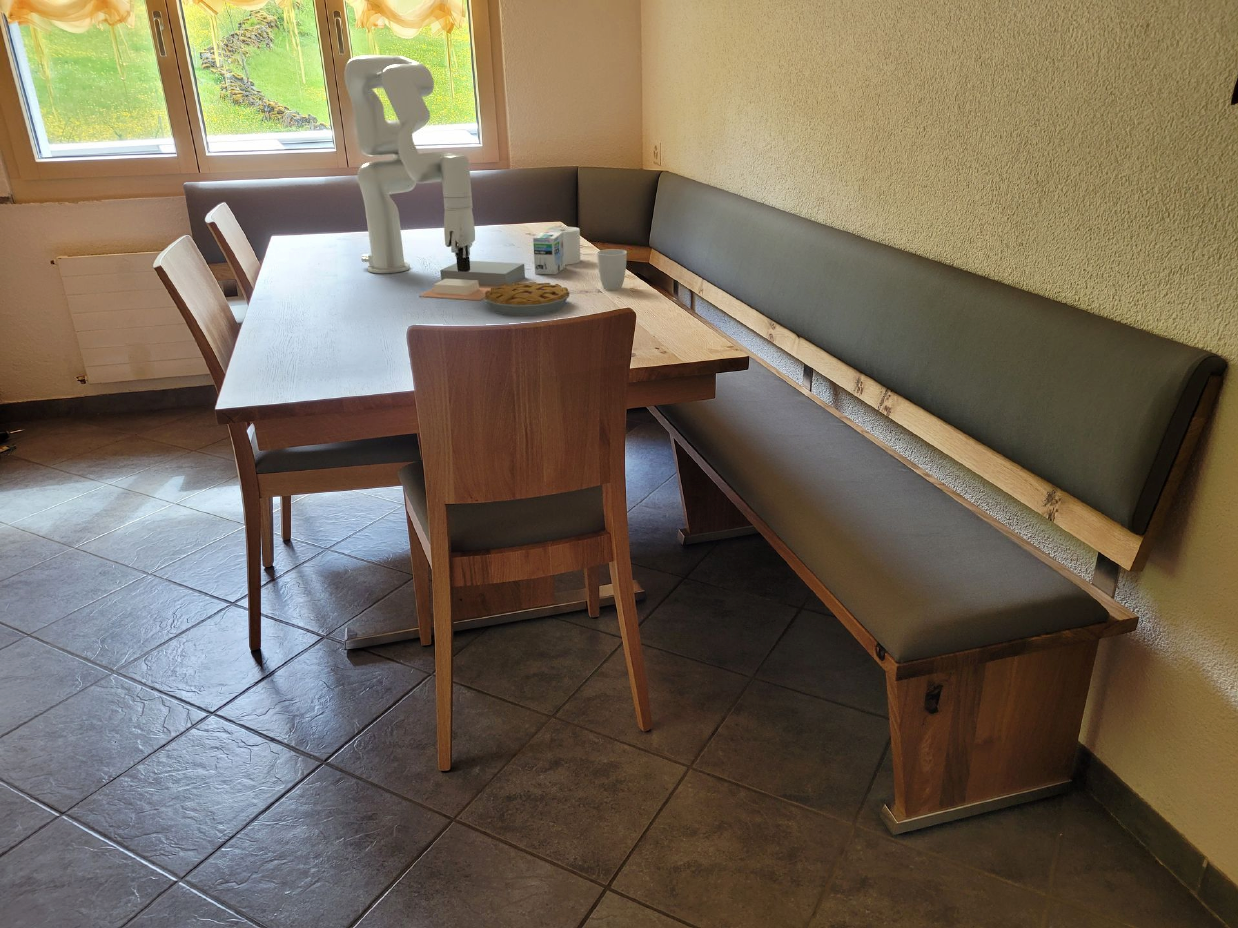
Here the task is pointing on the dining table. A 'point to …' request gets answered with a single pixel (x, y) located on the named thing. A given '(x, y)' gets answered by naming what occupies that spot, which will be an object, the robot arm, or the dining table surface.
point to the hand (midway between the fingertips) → (464, 271)
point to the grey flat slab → (487, 273)
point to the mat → (475, 295)
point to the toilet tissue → (569, 243)
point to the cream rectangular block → (456, 286)
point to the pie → (526, 298)
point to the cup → (612, 268)
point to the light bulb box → (548, 253)
